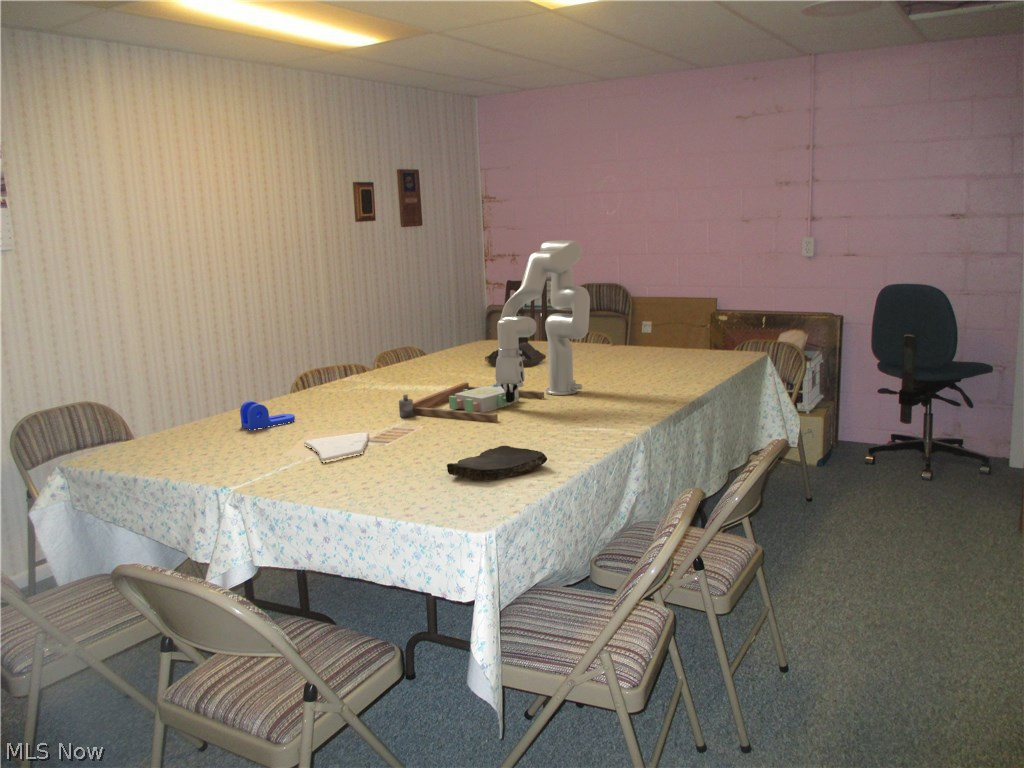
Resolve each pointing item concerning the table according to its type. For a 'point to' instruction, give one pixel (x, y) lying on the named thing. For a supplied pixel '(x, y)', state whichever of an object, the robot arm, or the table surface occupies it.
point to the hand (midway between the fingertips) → (510, 401)
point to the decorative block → (481, 399)
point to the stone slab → (498, 463)
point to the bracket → (261, 416)
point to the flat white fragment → (339, 445)
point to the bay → (426, 404)
